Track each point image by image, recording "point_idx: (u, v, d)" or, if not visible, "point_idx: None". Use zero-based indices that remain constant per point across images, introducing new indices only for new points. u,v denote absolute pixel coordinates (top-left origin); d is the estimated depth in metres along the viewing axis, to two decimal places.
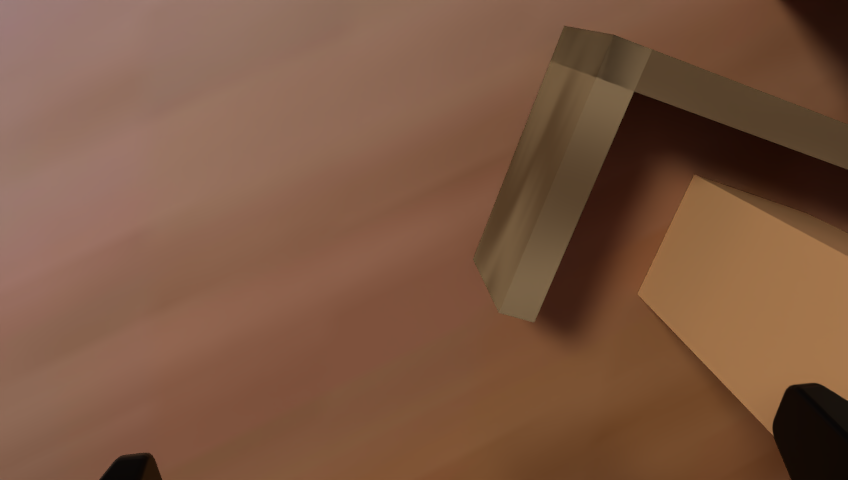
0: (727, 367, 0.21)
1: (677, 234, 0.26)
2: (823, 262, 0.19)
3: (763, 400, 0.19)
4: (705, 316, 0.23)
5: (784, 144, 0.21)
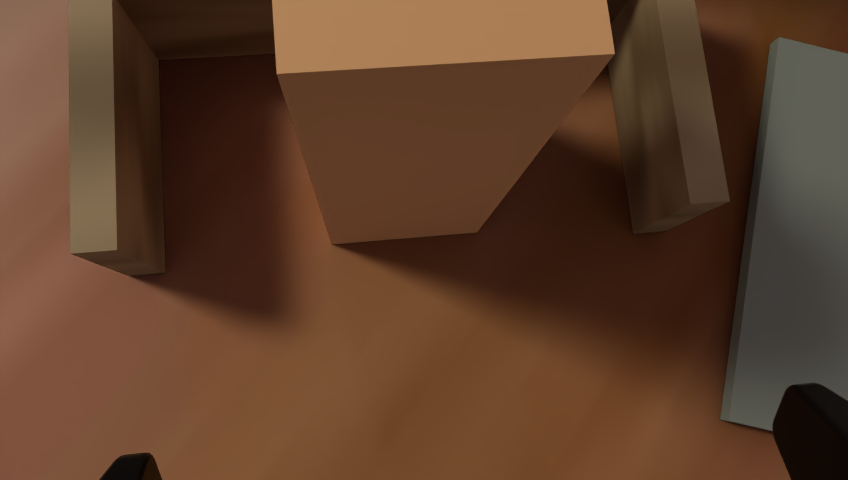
0: None
1: None
2: None
3: None
4: None
5: None
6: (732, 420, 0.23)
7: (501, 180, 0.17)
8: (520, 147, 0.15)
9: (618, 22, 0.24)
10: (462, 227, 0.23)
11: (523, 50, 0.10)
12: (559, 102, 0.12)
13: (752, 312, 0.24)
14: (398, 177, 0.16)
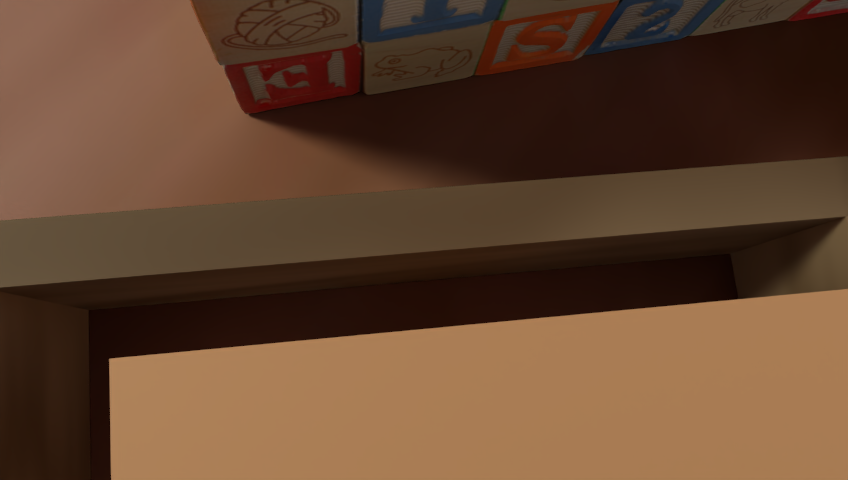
0: None
1: None
2: None
3: None
4: None
5: (278, 261, 0.13)
6: None
7: None
8: None
9: (764, 255, 0.17)
10: None
11: None
12: None
13: None
14: None
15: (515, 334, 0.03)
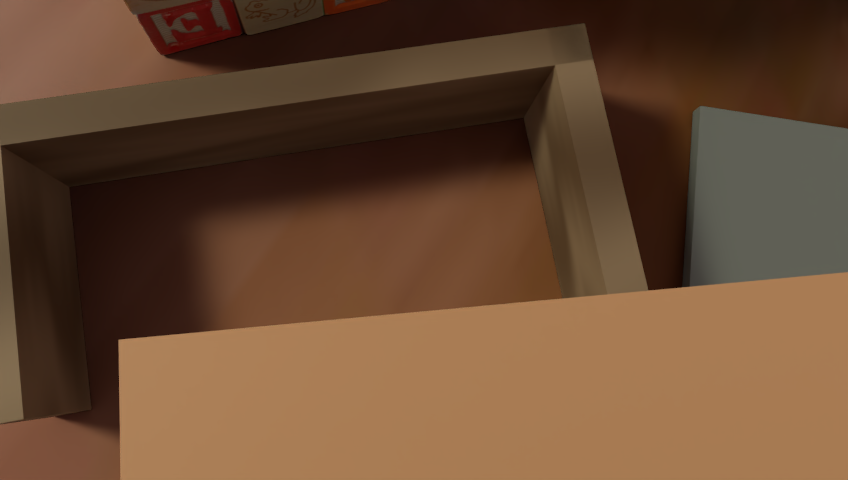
0: None
1: None
2: None
3: None
4: None
5: (185, 116, 0.20)
6: None
7: None
8: None
9: (534, 110, 0.24)
10: None
11: None
12: None
13: None
14: None
15: (519, 316, 0.03)
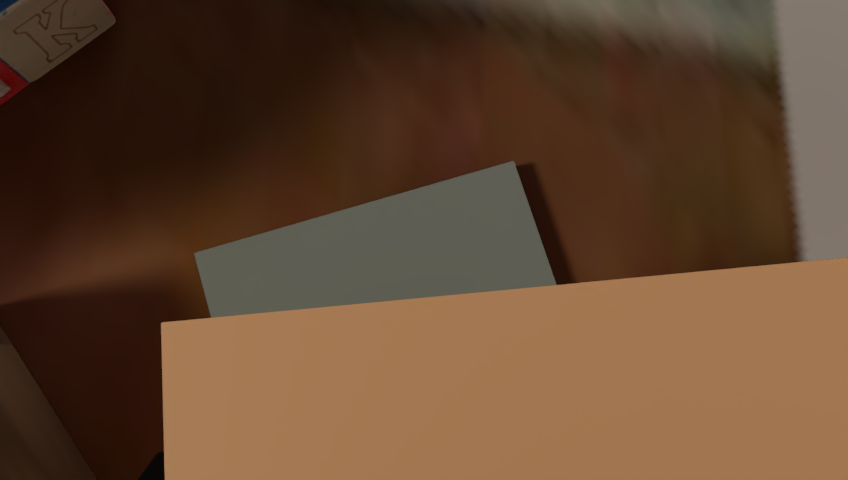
0: None
1: None
2: None
3: None
4: None
5: None
6: None
7: None
8: None
9: None
10: None
11: None
12: None
13: None
14: None
15: (443, 305, 0.05)
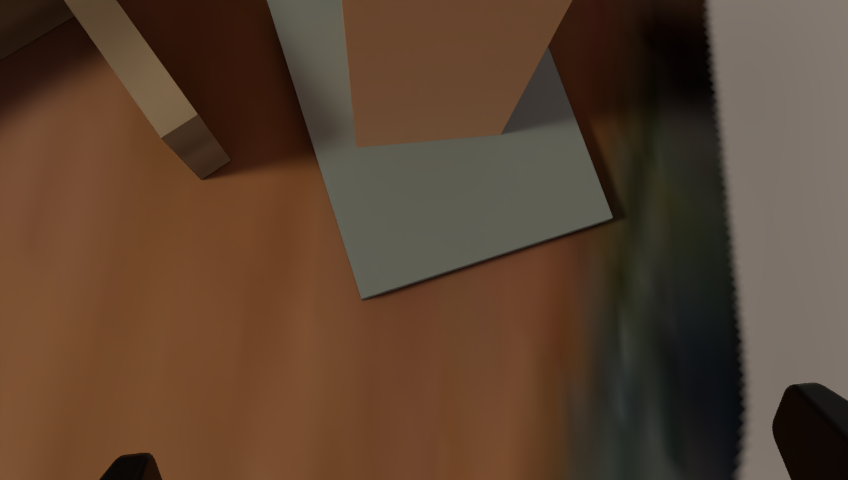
0: None
1: None
2: None
3: None
4: None
5: None
6: (364, 296, 0.23)
7: (532, 46, 0.17)
8: None
9: None
10: (487, 124, 0.23)
11: None
12: None
13: (337, 190, 0.24)
14: (431, 35, 0.16)
15: None
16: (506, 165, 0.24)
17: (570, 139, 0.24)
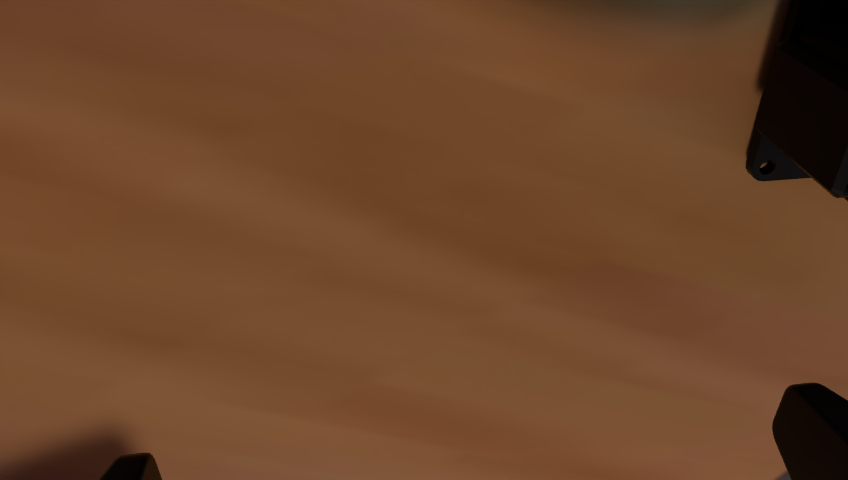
0: None
1: None
2: None
3: None
4: None
5: None
6: None
7: None
8: None
9: None
10: None
11: None
12: None
13: None
14: None
15: None
16: None
17: None
